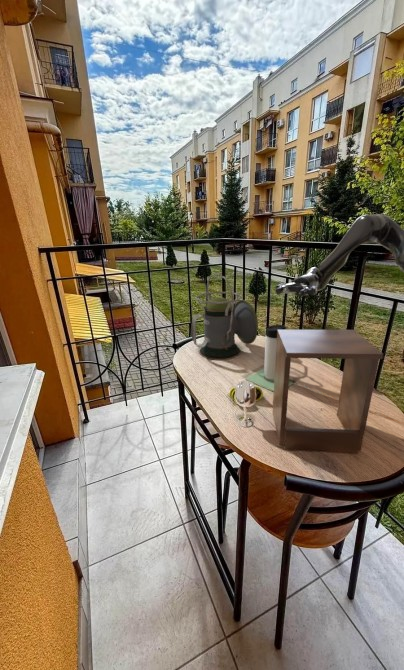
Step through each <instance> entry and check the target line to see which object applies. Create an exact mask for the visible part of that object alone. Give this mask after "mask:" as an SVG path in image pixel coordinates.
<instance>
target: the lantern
mask: <svg viewBox="0 0 404 670" xmlns="http://www.w3.org/2000/svg"><path fill="white" fill-rule="evenodd" d="M213 276H214V277H215V278H219V279H224V280H225V282H226V284H227V286H228V289H229V291H212V292H210V291H209V285H210V281H211V279H212V277H213ZM205 291H206V292H203V293H200V294H198V295H197V296H195V297H194V299H195V300H196V302H198V305H199V307H201V308H202V310H203V314H199V313H198V314H195V315H194V316H193V317H192V320H191V326H190V327H191V328H190V334H191V335H190V336H191V339H192V341H193V344H194V345H195V346H196V347H197V348H200V349H199V355H200V354H201V355H202V356H201V355H200V356H201V357H203V358H205V357H206V358H205V359H208V358H209V359H208V360H213V359H215V360H214V361H225V360H224V359H226V360H231V359H233V357H234V358H236V357H238V356H239V355H240V354H241V349H240V348H239V346H238V345H237V344H236V339H235V336H237V337H238V339H239V340H240V341H241V343H243V344H245V345H250V344H253V343H254V342H255V341H256V338H257V336H258V332H259V321H258V316H257V314H256V311H255V308H254V307H253V305H252V304H251V303H250V302H249V301H248V300H245V299H243V297H244V295H242V294H240V293H237V292H233V290H232V287H231V285H230V282H229V280H228V278H227V277H226V276H224V275H222V276H221V274H220V273H216V274H215V273H211V274H210V275H209V277H208V279H207V283H206V290H205ZM214 294H223V295H224V294H227V295H230V297H231V299H229V300H228V299H227V298H225V297H221V296H218V297H216V296H215V297H213V298H212V295H214ZM234 295H235V299H234ZM202 296H206V300H202V299H201V298H200V297H202ZM201 303H202V304H206V305H204V306H203V305H202V304H201ZM201 317H202V320H203V330H204V331H203V333H204V335H203V339H204V340H203V341H202V342H201V344H198V343H197V324H196V323H197V322H196V321H197V319H198V318H201ZM239 353H240V354H239ZM237 355H238V356H237ZM235 356H236V357H235ZM230 358H231V359H230Z"/></svg>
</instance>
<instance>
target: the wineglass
mask: <svg viewBox="0 0 404 670" xmlns="http://www.w3.org/2000/svg"><path fill="white" fill-rule="evenodd" d="M255 386H256V385H255V384H254V383H252V382H249V381H247V380H241V381H238V382H237V384H236V387H235V388H236V390H235V400H236V402H237V404H236V405H238V406H240V407H242V408H243V413H244V414H243V415H244V416H241V417H238V418H237V421H236V422H237V425H238V426H240V427H242V428H249V427H251V426H253V424H254V420H253V419H252V418H251V417H247V411H248V408H250V407H252V406H254V405H255V404H256V402H257V401H256V390H255Z"/></svg>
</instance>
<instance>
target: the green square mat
mask: <svg viewBox="0 0 404 670" xmlns="http://www.w3.org/2000/svg"><path fill="white" fill-rule="evenodd" d="M244 381H249V382H252V383H253V384H254V385H255V386H258V387H261V388H263V389H266V390H268V391H271V392H273V393H274V382H269V381H267V380H265V379H264V367H263V368H261V369H259V370H257V371H256V372H255V373H253V374H251V375H250V376H248V377H246V378H245V380H244ZM295 383H296V381H295V380H293V379H290V378H289V387H291V386H292V385H294V384H295Z"/></svg>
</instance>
